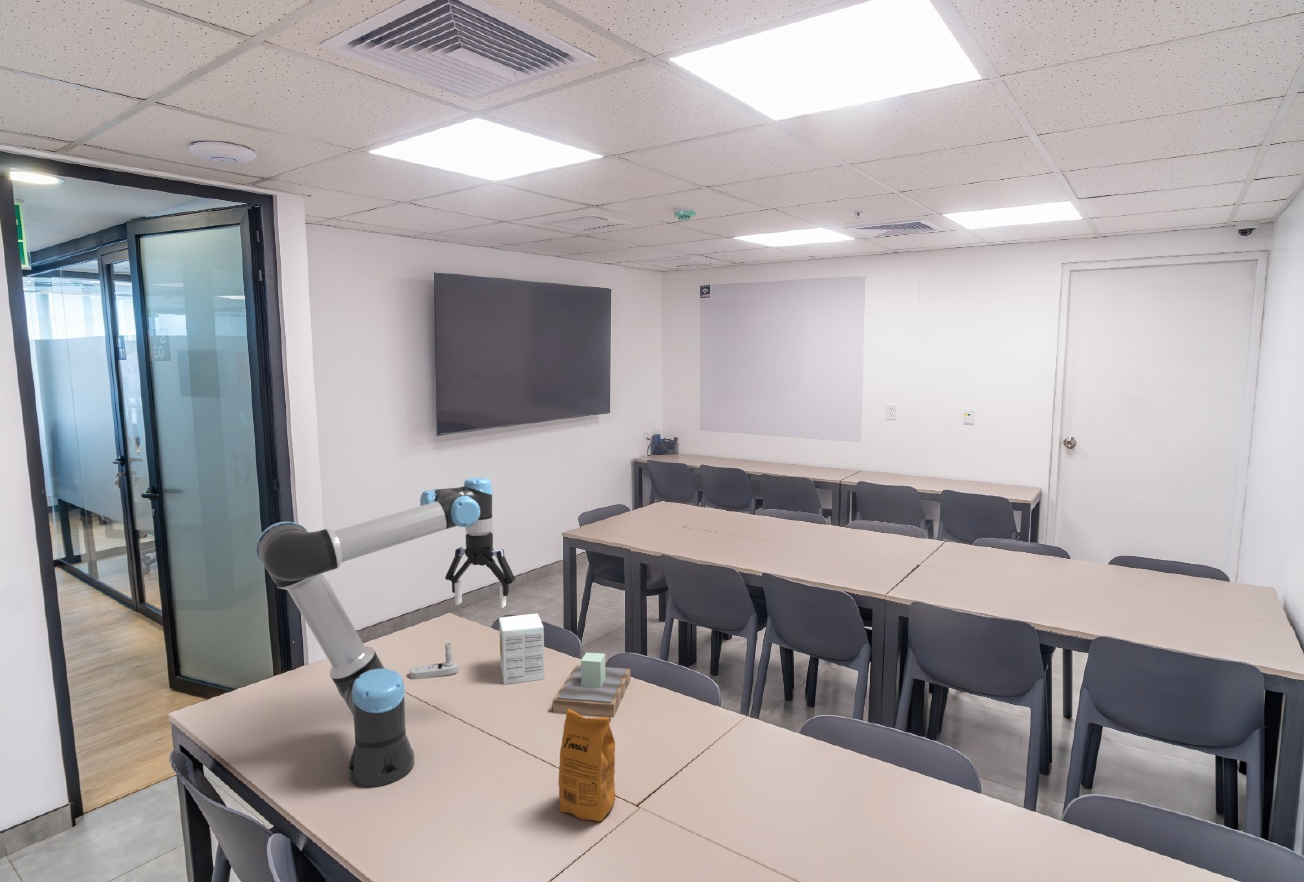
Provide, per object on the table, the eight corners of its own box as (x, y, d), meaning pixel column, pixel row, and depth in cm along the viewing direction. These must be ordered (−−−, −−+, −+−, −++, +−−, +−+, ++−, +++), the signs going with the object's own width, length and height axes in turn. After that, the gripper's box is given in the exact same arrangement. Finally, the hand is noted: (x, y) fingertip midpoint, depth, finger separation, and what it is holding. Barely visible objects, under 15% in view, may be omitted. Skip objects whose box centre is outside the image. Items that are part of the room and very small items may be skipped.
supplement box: (499, 668, 225) (498, 617, 223) (539, 662, 229) (538, 612, 227) (503, 685, 212) (501, 631, 211) (545, 679, 216) (544, 626, 215)
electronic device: (409, 645, 221) (456, 639, 224) (411, 674, 222) (458, 668, 225) (407, 652, 215) (456, 646, 219) (409, 681, 217) (458, 675, 220)
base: (613, 717, 192) (613, 703, 192) (553, 712, 195) (552, 698, 195) (630, 679, 216) (630, 667, 215) (576, 675, 219) (576, 664, 218)
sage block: (600, 687, 201) (600, 662, 201) (581, 686, 202) (580, 660, 202) (605, 678, 207) (605, 653, 207) (586, 677, 208) (586, 652, 208)
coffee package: (575, 787, 159) (573, 698, 157) (621, 801, 154) (620, 709, 152) (551, 811, 150) (549, 717, 148) (599, 827, 145) (598, 730, 143)
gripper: (525, 531, 193) (526, 603, 195) (444, 527, 198) (446, 598, 200) (515, 537, 186) (517, 612, 188) (431, 533, 190) (433, 606, 192)
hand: (480, 605), depth 194 cm, fingers open, 13 cm apart
